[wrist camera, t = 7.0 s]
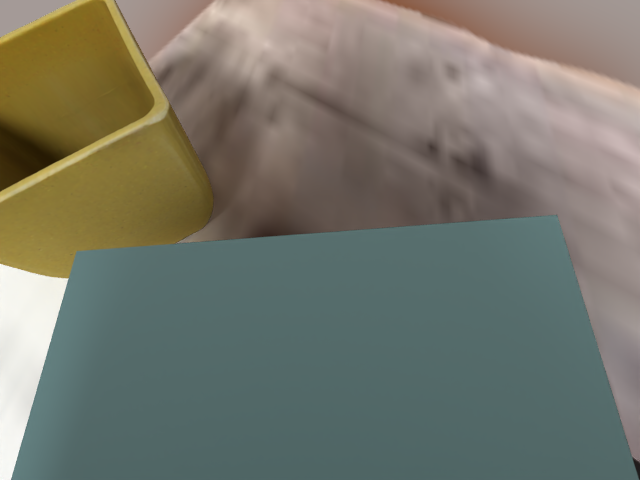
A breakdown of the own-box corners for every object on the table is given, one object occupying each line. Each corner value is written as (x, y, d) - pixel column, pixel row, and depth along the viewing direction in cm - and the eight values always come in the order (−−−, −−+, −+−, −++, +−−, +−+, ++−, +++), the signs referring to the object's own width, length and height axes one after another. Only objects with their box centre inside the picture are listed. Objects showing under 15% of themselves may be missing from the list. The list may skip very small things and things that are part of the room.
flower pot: (64, 196, 24) (-98, 77, 16) (195, 127, 25) (104, -19, 17) (101, 320, 20) (-89, 246, 12) (254, 233, 21) (172, 109, 13)
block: (458, 558, 11) (893, 1309, 2) (285, 553, 12) (-158, 1067, 2) (434, 374, 14) (556, 214, 4) (289, 378, 14) (76, 251, 4)
